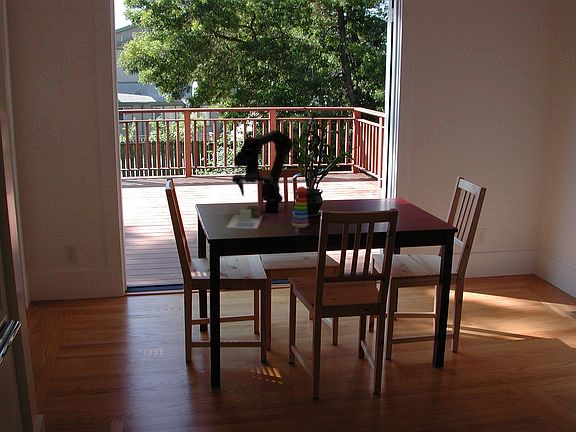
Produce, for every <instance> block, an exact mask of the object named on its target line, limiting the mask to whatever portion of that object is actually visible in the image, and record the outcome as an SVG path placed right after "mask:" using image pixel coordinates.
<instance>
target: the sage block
mask: <svg viewBox="0 0 576 432" xmlns="http://www.w3.org/2000/svg"><path fill="white" fill-rule="evenodd" d="M239 215H240V222H251V220H252V209H247V208H241V209H240V210H239Z"/></svg>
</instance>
